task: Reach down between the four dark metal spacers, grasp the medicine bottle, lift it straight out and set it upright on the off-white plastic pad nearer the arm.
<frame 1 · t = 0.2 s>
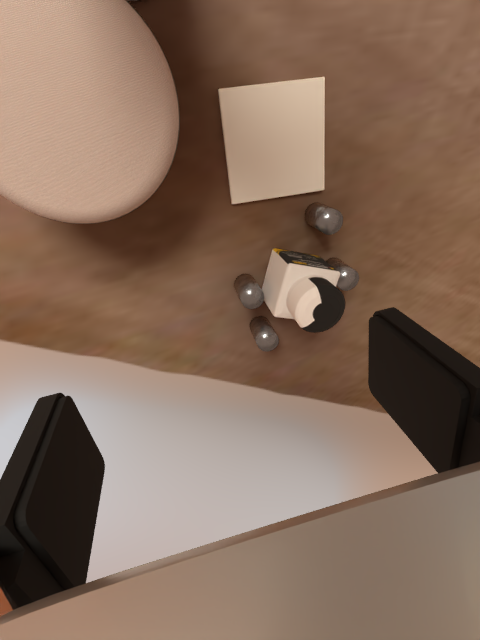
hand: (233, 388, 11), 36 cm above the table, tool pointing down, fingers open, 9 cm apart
pad: (274, 143, 42), on the table
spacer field: (289, 275, 50), on the table
container: (88, 116, 37), on the table
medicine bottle: (288, 275, 50), on the table
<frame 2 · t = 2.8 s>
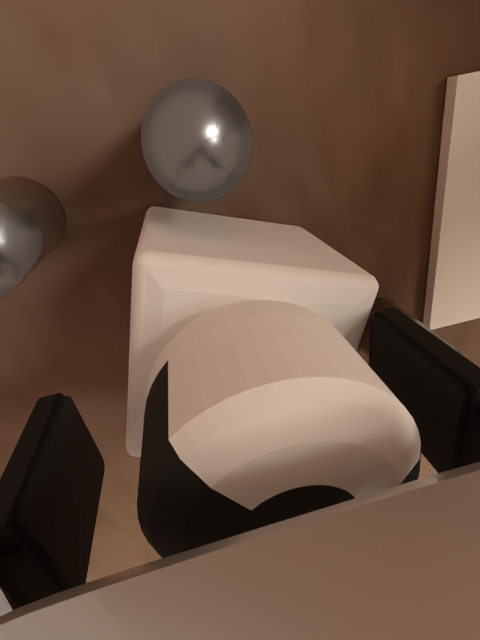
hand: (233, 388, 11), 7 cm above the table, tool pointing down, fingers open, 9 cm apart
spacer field: (220, 290, 17), on the table
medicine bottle: (217, 288, 17), on the table, touching gripper
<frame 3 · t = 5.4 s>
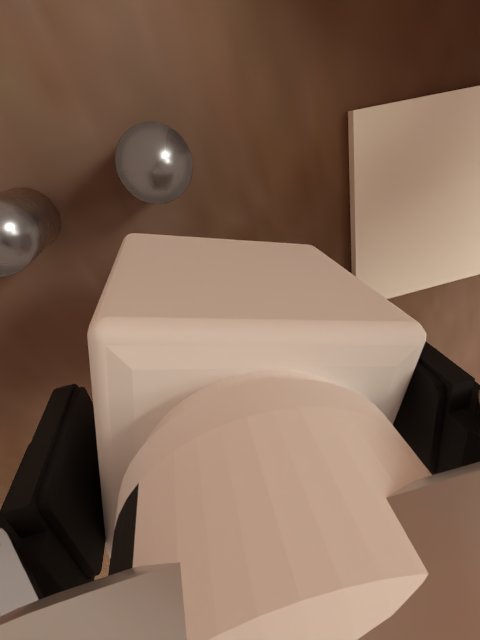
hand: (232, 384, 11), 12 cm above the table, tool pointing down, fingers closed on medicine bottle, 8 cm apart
pad: (435, 199, 23), on the table
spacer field: (184, 275, 22), on the table
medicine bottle: (216, 320, 15), point 8 cm above the table, touching gripper
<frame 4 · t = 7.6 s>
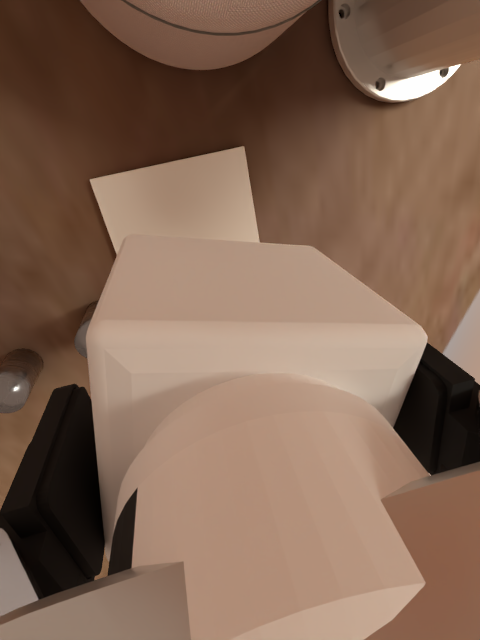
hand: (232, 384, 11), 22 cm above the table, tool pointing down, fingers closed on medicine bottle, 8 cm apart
pad: (187, 237, 30), on the table
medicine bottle: (216, 321, 15), point 17 cm above the table, touching gripper
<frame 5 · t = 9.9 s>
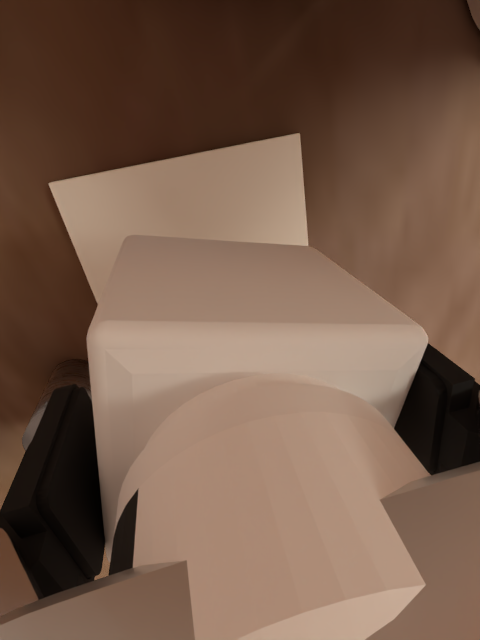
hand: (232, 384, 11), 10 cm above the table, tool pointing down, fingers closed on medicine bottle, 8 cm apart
pad: (204, 271, 20), on the table
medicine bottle: (216, 322, 15), point 6 cm above the table, touching gripper
when the fingers open (5 cm above the table, at t = 11.6 s): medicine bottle stays where it is, resting on pad.
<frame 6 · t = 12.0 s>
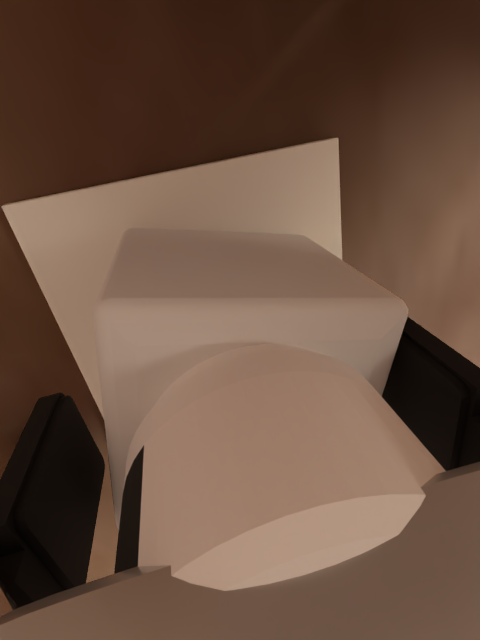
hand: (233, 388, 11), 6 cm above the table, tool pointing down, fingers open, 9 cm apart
pad: (210, 312, 16), on the table
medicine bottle: (214, 311, 15), resting on pad
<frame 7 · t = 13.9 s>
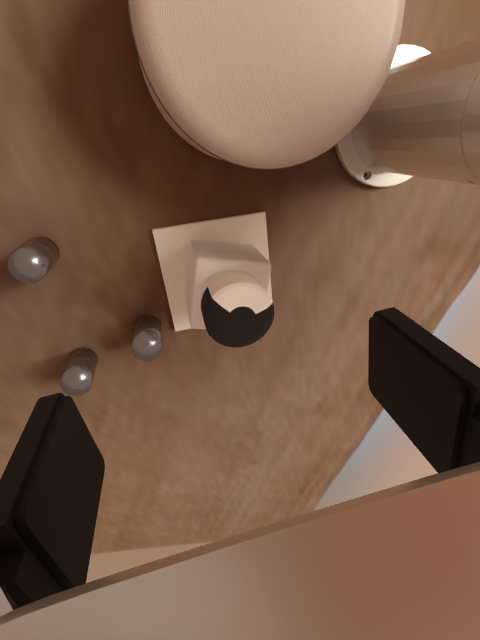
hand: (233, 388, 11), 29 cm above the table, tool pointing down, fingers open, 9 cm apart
pad: (217, 273, 40), on the table
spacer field: (65, 309, 38), on the table
container: (240, 53, 32), on the table
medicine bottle: (218, 272, 40), resting on pad
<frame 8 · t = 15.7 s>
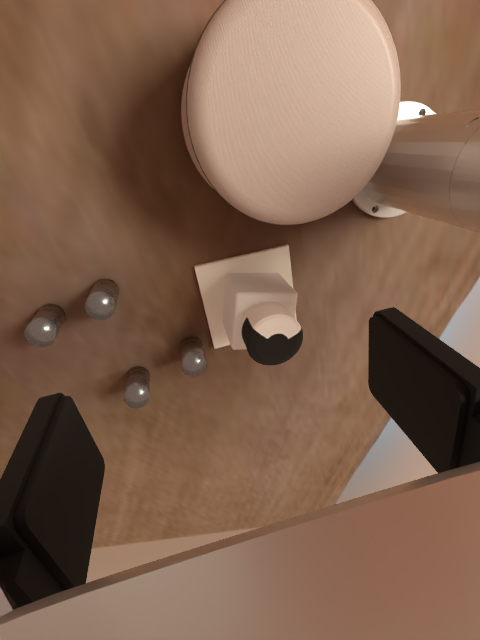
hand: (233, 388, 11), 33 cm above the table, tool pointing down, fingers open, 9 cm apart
pad: (248, 298, 47), on the table
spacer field: (123, 335, 46), on the table
container: (264, 120, 38), on the table
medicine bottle: (250, 297, 46), resting on pad
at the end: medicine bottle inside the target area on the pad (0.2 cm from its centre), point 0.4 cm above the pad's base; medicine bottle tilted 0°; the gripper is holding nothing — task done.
